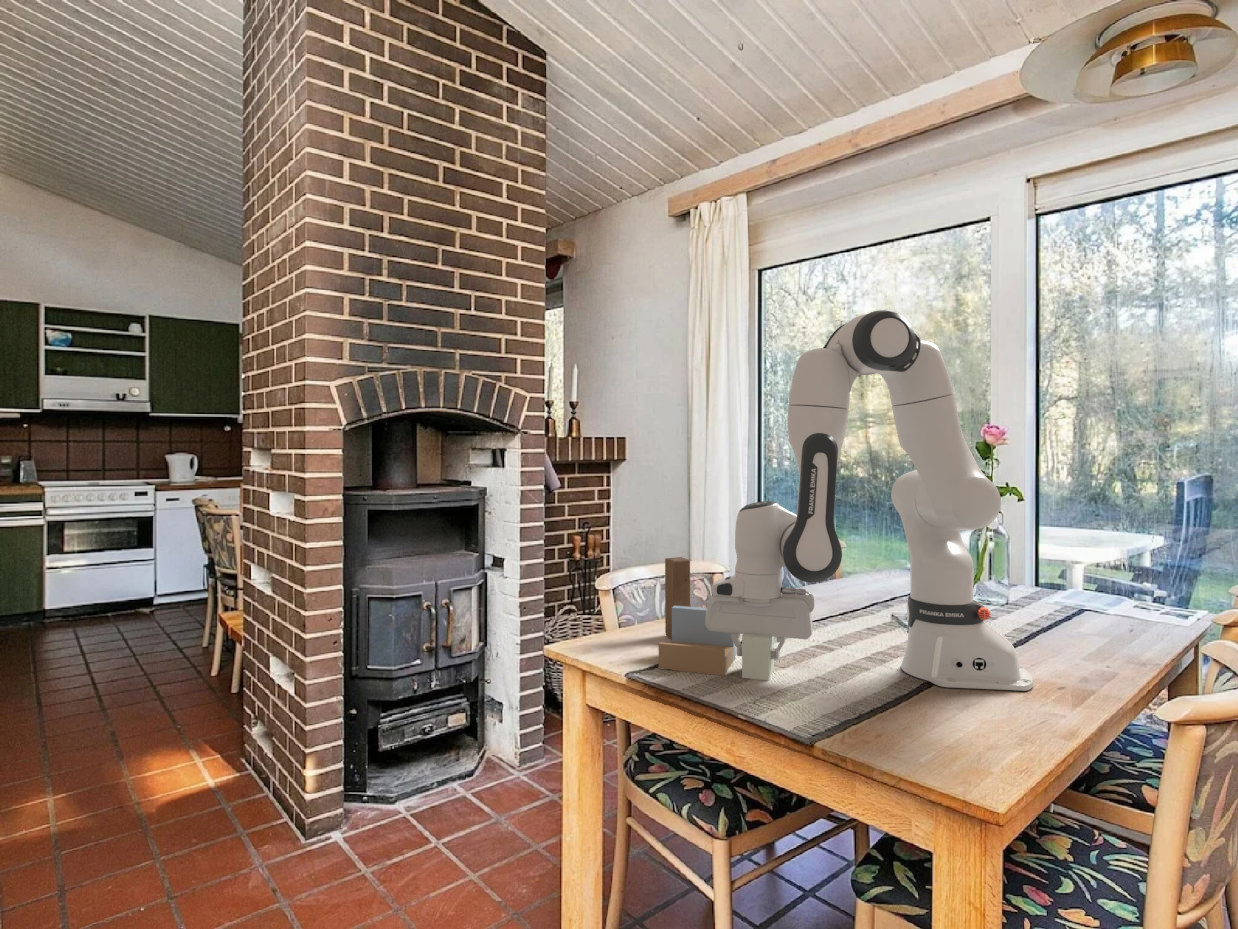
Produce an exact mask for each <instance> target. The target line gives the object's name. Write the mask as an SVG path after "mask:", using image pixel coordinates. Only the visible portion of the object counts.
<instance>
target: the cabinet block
mask: <svg viewBox="0 0 1238 929" xmlns="http://www.w3.org/2000/svg"><path fill="white" fill-rule="evenodd" d="M741 644H742V656H741V678H742V679H748V680H749V679H752V680H759V681H760V680H761V681H770V679H771V677H772V675H773V673H774V671H775V660H773V659H771V650H772V648H775V637H772V636H768V635H756V634H741Z"/></svg>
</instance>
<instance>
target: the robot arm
mask: <svg viewBox="0 0 1238 929" xmlns="http://www.w3.org/2000/svg"><path fill="white" fill-rule="evenodd" d="M796 362H797V363H796V365H795V368H794V371H793V376H792V380H791V385H790V390H789V397H788V406H787V433H788V434H787V435H788V442H789V444H790V446H791V448H792V451H793V453H794V455H795V459H796V460H797V465H798V472H799V473H798V474H799V482H798V493H797V495H798V496H797V509H796V513H794V512H792V511H790V510H788V509H787V508H785V507H783V506H781V505H780V504H779V503H778V502H776V501H772V500H766V501H758V502H757V501H756V502H753V503H750V504H749V503H748V504H746V505H744V506H743V507H742V508H741V509H740V510H739V511H738V513H737V516H736V520H735V522H736V523H735V530H734V549H735V552H736V564H735V567H734V575H731V576H726V577H722V578H719V579H718V580H716V581H714V582H713V583H712V584H711V588H710V592H711V594H712V596H711V597H709V599H708V600H707V603H706V608H707V609H706V619H705V625H706V627H707V629H708V630H709V631H714V632H726V633H731V639H732V640H733V642H734V644H735V648H736V655H737V657H742V641H740V637H741V635H743V634H756V635H768V636H772V637H774V638H776V642H777V643H778V645H777V646H776V648H775V647H774V648H772V650H771V659H773V660H774V661H775V660H776V661H779V660H780V657H781V655H780V653H781V652H780V651H781V649H782V648H783V646H784V645H785V642H786V639H796V640H808V639H810V638H811V636H812V635H813V631H814V629H813V625H814V623H813V617H812V612H814V608H815V597H814V595H813V594H812V593H811V592H810V591H808V590H806V589H805V588H792V587H783V585H782V584H783V576H782V575H783V568H784V567H785V568H786V569H787V571H788V572H789V573H790V574H791V575H792V576H793V577H794V578H796V579H798V580H799V581H802V582H806V583H811V584H813V583H820V582H823V581H825V580H828V579H829V578H830V577H832V576H833V575H835V573H836V572H837V571H838V570H839V568H840V566H841V563H842V559H843V549H842V545H841V543H840V540H839V537H838V534H837V531H836V529H835V521H834V520H835V515H834V514H835V500H836V484H837V472H838V471H837V470H838V466H839V460H840V456H841V452H842V448H843V444H844V441H845V440H844V439H845V437H846V431H847V426H848V419H849V411H850V393H851V390H852V388H853V385H854V384H855V381H856V379H857V378H858V377H861V376H870V375H871V376H872V375H875V374H878V375H880V376H881V377H882V379H883V380H884V381H885V382H884V383H885V384H886V386H887V388H888V390H889V392H888V393H889V398H890V403H891V408H892V409H891V410H892V413H893V418H894V423H895V427H896V432H897V439H898V443H899V445H900V447H901V448H902V450H904V452H905V453H906V454H907V455H908V457H909V458H910V460H911V462H912V464H913V465H914V467H915V470H911V471H909V472H906V473H903V474H902V475H900V476H899V477H898V478H897V479H896V480H895V481H894V483H893V485H892V488H891V492H890V493H891V494H890V496H891V502H892V505H893V506H894V508H895V509H896V511H897V513H898V515H899V517H900V519H901V523H902V526H903V530H904V535H905V538H906V543H907V548H908V553H909V563H910V564H909V567H910V571H909V572H910V574H909V575H910V594H909V596H908V598H907V604H906V606H907V607H906V618H907V619H906V620H907V625H908V634H907V640H906V647H905V652H904V655H903V658H902V661H901V665H900V668H901V670H902V671H904V673H906V674H908V675H910V676H912V677H914V678H918V679H921V680H923V681H928V682H930V683H932V684H934V685H936V686H939V687H942V688H954V689H955V688H957V689H977V690H979V689H980V690H998V691H999V690H1000V691H1001V690H1002V691H1025V692H1026V691H1030V690H1031V689H1033V687H1034V678H1033V676H1032V674H1031V673H1030V672H1029V671H1028V670H1027V669H1025V668H1024V667H1022V666H1020V662H1019V656H1018V653H1017V651H1016V649H1015V647H1014V645H1013V644H1012V642H1011V641H1010V640H1008V639H1007V638H1006V637H1005V636H1003V635H1002V634H1001V633H999V632H998V631H997V630H996V629H994V628H993V627H992V626H990V625H989V624H988V623H987V622H986V621H987V620H989V618H991V611H990V610H989V609H988V607H985V605H983V604H981V603H980V602H979V601H978V602H977V601H976V600H974V571H975V570H974V567H975V566H974V565H975V564H974V560H973V558H972V556H971V554H970V553H969V551H968V550H967V548H966V546H965V543H964V541H963V538H962V535H961V532H965V531H966V532H968V531H974V530H975V531H976V530H981V529H984V528H986V527H988V526H990V525H991V524H992V523H994V521H995V520H996V519H997V518H998V516H999V514H1000V511H1001V508H1002V507H1001V506H1002V498H1001V495H1000V491H999V490H998V487H997V486H996V485H995V483H993V481H991V480H990V479H989V478H988V477H987V476H986V475H985V473H984V472H983V471H982V470H981V468H980V466H979V465H978V463H977V461H976V460H975V457H974V455H973V453H972V451H971V450H970V447H969V445H968V442H967V441H966V439H965V435H964V433H963V430H962V426H961V421H960V416H959V412H958V407H957V402H956V398H955V392H954V388H953V383H952V380H951V376H950V373H949V370H948V366H947V364H946V362H945V359H944V357H943V354H942V352H941V350H940V349H939V347H938V346H937V345H936V344H935V343H933V342H930V341H927V340H921V339H920V337H919V335H917V334H916V333H915V331H914V328H913V327H912V325H911V323H910V322H909V320H908V319H906V317H904V316H903V315H901V314H900V313H898V312H895V311H892V310H887V309H886V310H881V309H879V310H875V311H871V312H868V313H864V314H862V315H858V316H856V317H854V318H852V319H851V320H849V321H848V322H847V323H843V324H842V325H840V326H839V327H837V328H836V329H835V330H834V331H833V333H831V335H830V337H829V338H828V339H827V341H826V343H825V344H824V345H823V347H819V348H814V349H813V348H812V349H811V350H810V349H809V350H808V351H806V352H804V353H803V354H801V356H799V357H798V360H797V361H796Z"/></svg>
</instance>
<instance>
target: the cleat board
mask: <svg viewBox="0 0 1238 929" xmlns="http://www.w3.org/2000/svg"><path fill="white" fill-rule="evenodd" d="M706 609H707V607H699V606H697V607H696V606H691V607H686V606H673V607H672V639H671V641H670V642H662V641H661V642H658V669H660V670H666V669H672V670H671V671H676V670H678V671H677V672H684V673H685V672H686V673H695V674H703V675H704V674H705V675H713V676H723V677H724V676H725V675H726V673H727V672H728V670H729V669H730V668H731V665H732V664H733V662H734V661H735V659H736V646H735V644H734V642H733V640H732V639H731V633H726V632H714V631H709V630H708V629H707V627H706V625H705V619H706Z"/></svg>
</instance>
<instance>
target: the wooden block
mask: <svg viewBox="0 0 1238 929" xmlns="http://www.w3.org/2000/svg"><path fill="white" fill-rule="evenodd" d="M664 582H665V583H664V591H665V593H664V594H665V597H664V598H665V603H664V606H665V608H664V609H665V612H664V613H665V619H664V620H665V621H664V622H665V627H664V628H665V637H668V638H670V640H672V607H673V606H686V607H692V606H691V560H690V559H688V558H685V557H683V556H680V557H679V556H678V557H677V556H676V557H668V558H667V557H666V558H665V559H664Z"/></svg>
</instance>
